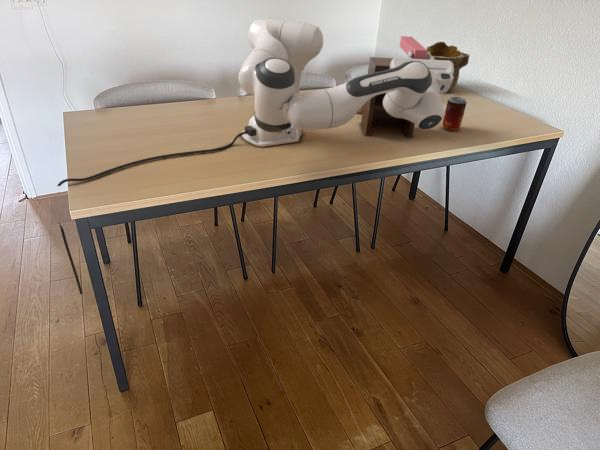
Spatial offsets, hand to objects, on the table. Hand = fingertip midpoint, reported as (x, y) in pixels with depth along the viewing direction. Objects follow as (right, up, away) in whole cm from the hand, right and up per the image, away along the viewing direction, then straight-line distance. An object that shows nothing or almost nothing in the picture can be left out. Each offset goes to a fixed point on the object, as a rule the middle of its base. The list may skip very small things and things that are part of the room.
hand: (418, 52), depth 148 cm
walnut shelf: (-6, -20, +27) cm, 34 cm away
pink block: (0, +3, +8) cm, 8 cm away
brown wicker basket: (+29, +12, +78) cm, 84 cm away
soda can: (+21, -18, +33) cm, 43 cm away
